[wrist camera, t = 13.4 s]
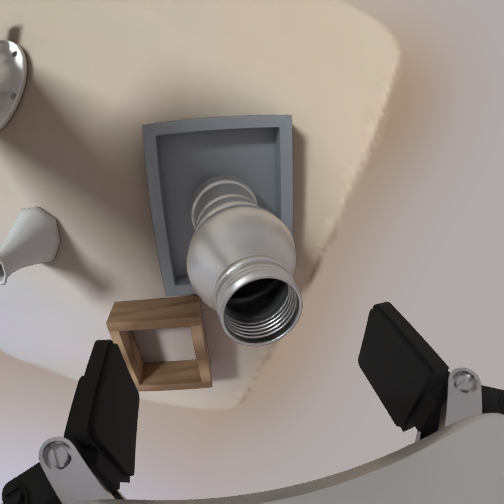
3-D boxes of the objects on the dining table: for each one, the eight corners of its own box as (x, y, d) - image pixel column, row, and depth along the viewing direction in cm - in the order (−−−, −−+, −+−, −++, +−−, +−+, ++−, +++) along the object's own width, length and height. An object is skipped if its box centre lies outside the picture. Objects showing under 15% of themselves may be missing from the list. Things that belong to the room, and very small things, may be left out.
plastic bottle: (263, 189, 31) (361, 276, 13) (231, 243, 32) (280, 381, 14) (209, 159, 28) (236, 206, 10) (178, 217, 30) (159, 344, 12)
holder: (114, 302, 34) (106, 323, 30) (198, 295, 35) (199, 316, 31) (137, 368, 39) (134, 391, 35) (210, 364, 40) (212, 387, 36)
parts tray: (148, 125, 27) (142, 125, 24) (283, 116, 29) (291, 115, 26) (168, 282, 34) (165, 296, 31) (284, 270, 36) (291, 282, 33)
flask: (17, 200, 27) (-31, 228, 18) (63, 212, 29) (20, 245, 19) (16, 253, 29) (-25, 291, 20) (60, 267, 31) (24, 312, 22)
